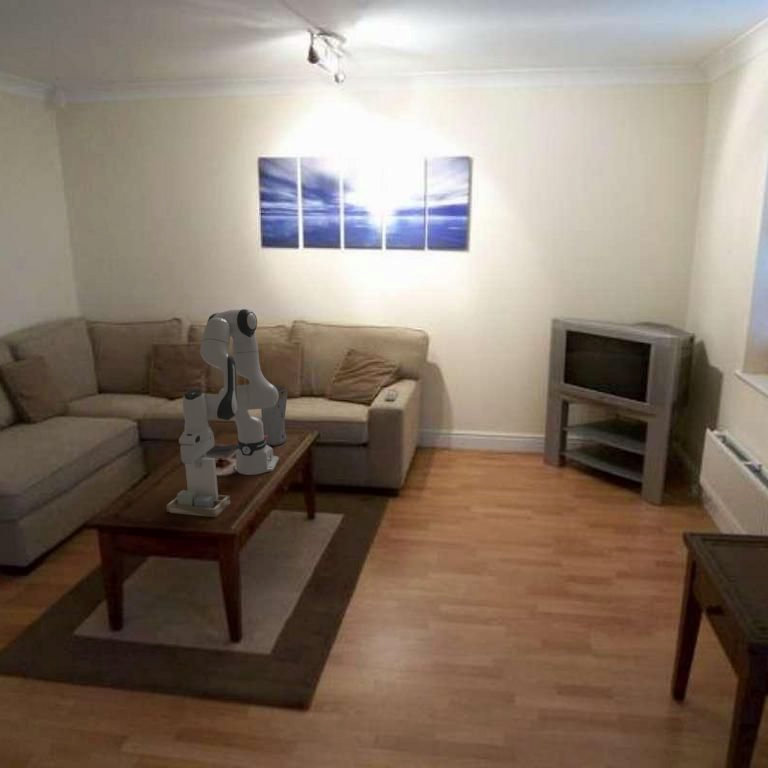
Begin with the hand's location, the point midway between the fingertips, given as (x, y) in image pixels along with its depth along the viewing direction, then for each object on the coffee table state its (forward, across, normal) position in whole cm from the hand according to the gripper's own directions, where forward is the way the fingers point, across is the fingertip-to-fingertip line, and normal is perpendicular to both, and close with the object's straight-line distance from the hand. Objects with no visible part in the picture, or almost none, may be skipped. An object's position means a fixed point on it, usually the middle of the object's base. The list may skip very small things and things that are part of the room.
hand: (200, 465), depth 259 cm
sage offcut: (+16, +6, -4) cm, 17 cm away
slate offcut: (+16, +6, +4) cm, 17 cm away
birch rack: (+16, +4, 0) cm, 16 cm away
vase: (+17, -72, +2) cm, 74 cm away
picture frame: (+17, -52, -22) cm, 59 cm away
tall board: (+15, 0, 0) cm, 15 cm away
